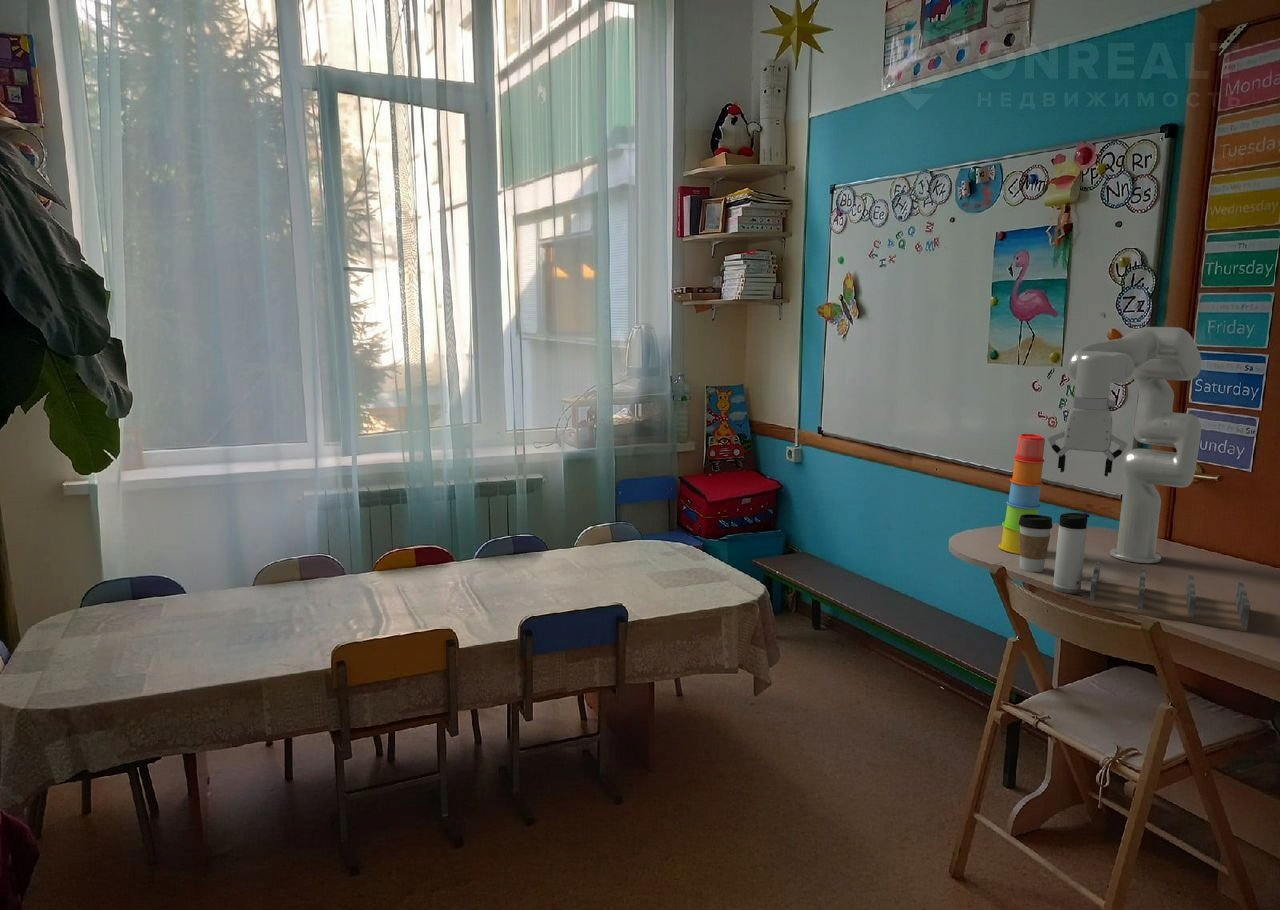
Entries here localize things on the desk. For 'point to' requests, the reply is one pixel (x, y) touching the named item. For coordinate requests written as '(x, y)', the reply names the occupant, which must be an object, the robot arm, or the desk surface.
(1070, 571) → the travel mug
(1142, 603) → the drying rack
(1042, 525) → the coffee cup
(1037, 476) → the stacking cups
